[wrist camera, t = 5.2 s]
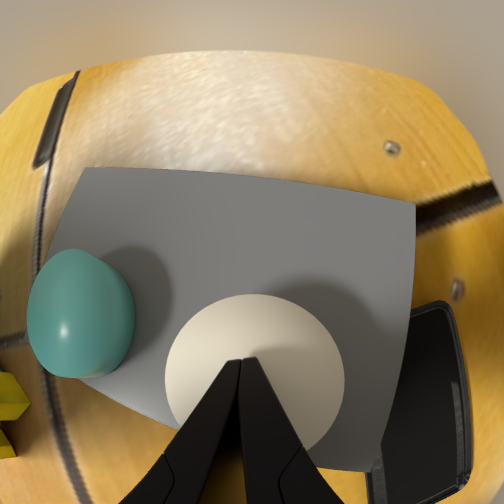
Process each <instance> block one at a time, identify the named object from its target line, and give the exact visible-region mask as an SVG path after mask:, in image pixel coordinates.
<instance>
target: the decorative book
mask: <svg viewBox="0 0 504 504" xmlns="http://www.w3.org/2000/svg"><path fill="white" fill-rule="evenodd" d="M30 404H31V402H30V401H29V399H28V398H27V396H26V395H25V393H24V392H23V390H22V388H21V387H20V385H19V384H18V382H17V380H16V379H15V377H14V375H13V374H12V373H6V372H2V371H1V369H0V421H1V420H17V419H18V418H19V417H20V415H21V414H22V413H23V412H24V411H25V410H26V409H27V407H28V406H29V405H30ZM13 457H16V455H15V452H14V450H13V448H12V446H11V444H10V443H9V441H8V440H7V438H6V436H5V435H4V433H3V431H2V430H1V428H0V459H5V458H13Z"/></svg>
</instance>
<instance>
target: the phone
mask: <svg viewBox="0 0 504 504" xmlns="http://www.w3.org/2000/svg"><path fill="white" fill-rule="evenodd" d="M470 474H471V425H470V409H469V398H468V389H467V381H466V374H465V367H464V361H463V355H462V350H461V345H460V340H459V335H458V330H457V326H456V322H455V317H454V313H453V311H452V308H451V307H450V305H449V304H448V303H446V302H445V301H441V300H439V301H434V302H431V303H429V304H426V305H423V306H420V307H417V308H414V309H411V310H410V317H409V325H408V332H407V338H406V344H405V350H404V355H403V360H402V365H401V370H400V375H399V379H398V384H397V388H396V392H395V396H394V400H393V404H392V407H391V411H390V415H389V418H388V421H387V425H386V428H385V431H384V434H383V438H382V441H381V444H380V446H379V449H378V452H377V455H376V458H375V460H374V463H373V466H372V468H371V471H370V472H365V479H366V488H367V498H368V504H435V503H437V502H439V501H441V500H443V499H445V498H447V497H449V496H451V495H453V494H455V493H457V492H458V491H460V490H461V489H462V488H463V487H464V486H465V485H466V484H467V482H468V480H469V478H470Z"/></svg>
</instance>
